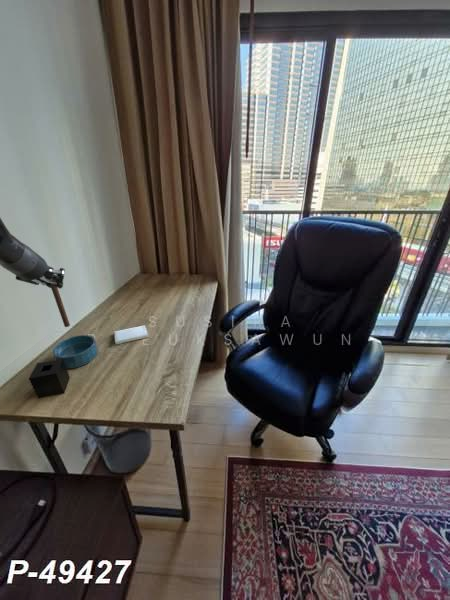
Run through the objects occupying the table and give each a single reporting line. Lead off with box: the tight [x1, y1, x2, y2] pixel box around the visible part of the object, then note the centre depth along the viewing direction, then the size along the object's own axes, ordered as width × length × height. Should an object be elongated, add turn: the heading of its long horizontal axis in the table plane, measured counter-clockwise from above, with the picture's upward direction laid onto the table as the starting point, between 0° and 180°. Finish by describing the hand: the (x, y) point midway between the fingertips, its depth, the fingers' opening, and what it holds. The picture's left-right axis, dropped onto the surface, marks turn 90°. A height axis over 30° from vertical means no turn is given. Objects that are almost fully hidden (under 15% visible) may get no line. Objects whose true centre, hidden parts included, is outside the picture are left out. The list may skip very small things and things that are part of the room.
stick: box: [50, 283, 71, 328], centre depth 81 cm, size 2×2×18 cm
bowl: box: [52, 334, 99, 369], centre depth 90 cm, size 13×13×6 cm
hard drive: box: [114, 325, 149, 345], centre depth 104 cm, size 2×8×12 cm
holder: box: [28, 359, 71, 399], centre depth 77 cm, size 7×7×8 cm
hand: (57, 285), depth 81 cm, fingers closed on stick, 1 cm apart
